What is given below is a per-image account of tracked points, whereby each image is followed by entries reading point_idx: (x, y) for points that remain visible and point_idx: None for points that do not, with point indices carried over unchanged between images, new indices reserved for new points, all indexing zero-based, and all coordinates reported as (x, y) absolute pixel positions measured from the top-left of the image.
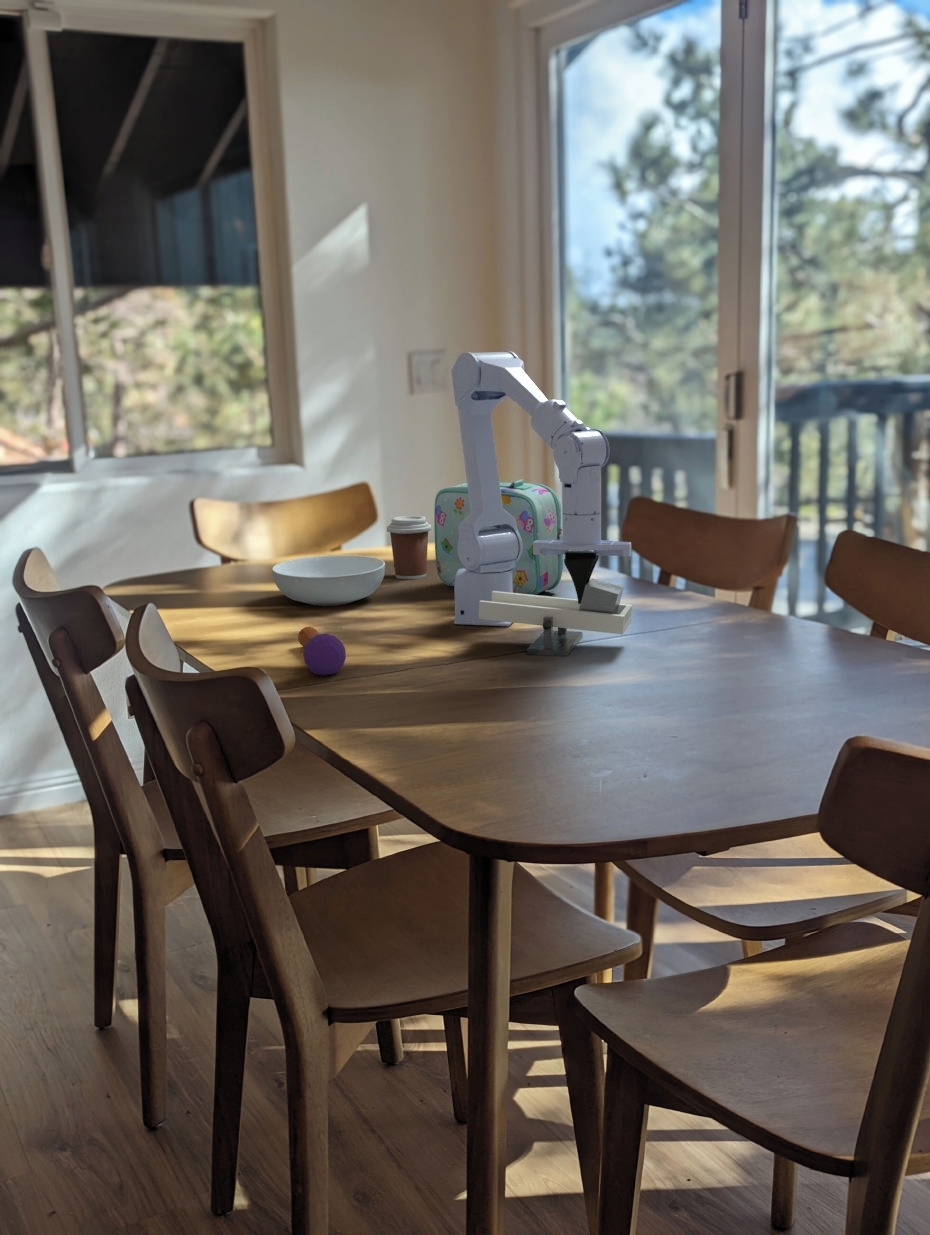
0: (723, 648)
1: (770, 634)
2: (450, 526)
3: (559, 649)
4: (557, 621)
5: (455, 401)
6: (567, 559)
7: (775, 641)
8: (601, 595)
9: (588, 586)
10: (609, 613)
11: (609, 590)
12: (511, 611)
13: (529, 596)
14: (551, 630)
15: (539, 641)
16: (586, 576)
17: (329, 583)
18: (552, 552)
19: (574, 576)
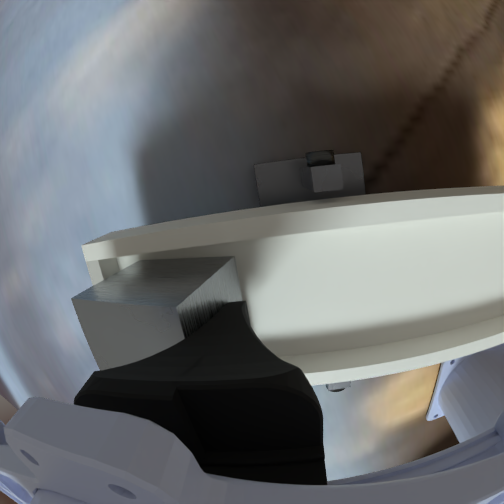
0: (34, 321)
1: (40, 395)
2: None
3: (278, 172)
4: (298, 204)
5: None
6: (288, 421)
7: (19, 365)
8: (126, 291)
9: (164, 304)
10: (129, 268)
11: (99, 319)
12: (456, 191)
13: (437, 350)
14: (305, 167)
15: None
16: (168, 350)
17: None
18: (430, 465)
19: (239, 344)
